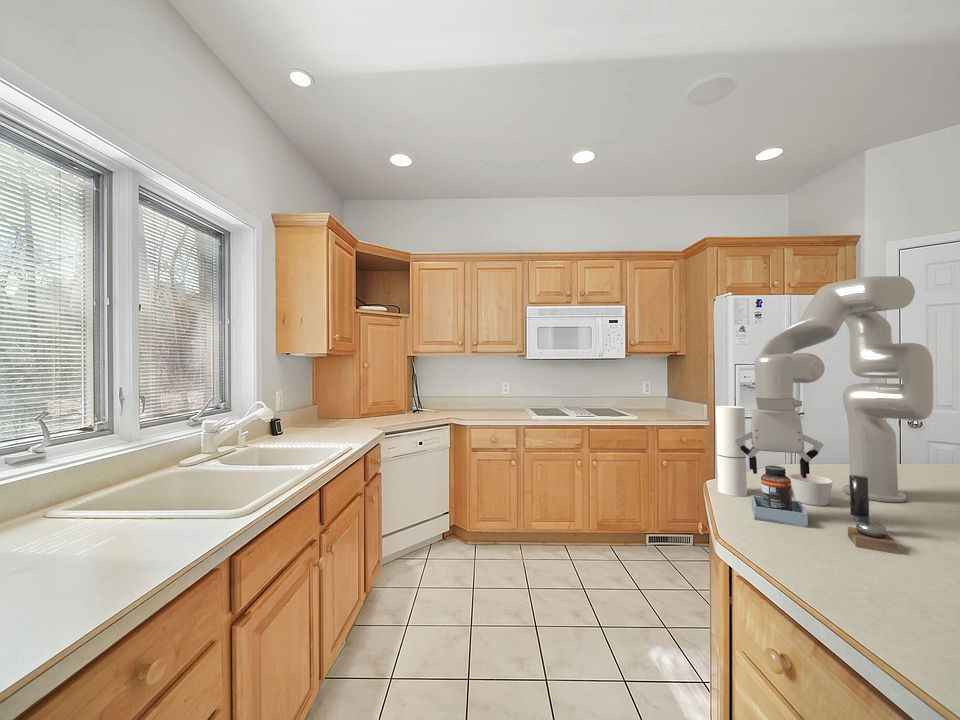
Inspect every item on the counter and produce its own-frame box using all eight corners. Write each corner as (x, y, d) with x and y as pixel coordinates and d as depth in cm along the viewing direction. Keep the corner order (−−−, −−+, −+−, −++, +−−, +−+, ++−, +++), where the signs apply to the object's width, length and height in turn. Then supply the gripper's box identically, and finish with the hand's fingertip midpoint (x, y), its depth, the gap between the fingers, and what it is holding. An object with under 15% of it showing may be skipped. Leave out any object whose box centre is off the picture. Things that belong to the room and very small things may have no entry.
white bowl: (787, 502, 106) (787, 478, 106) (792, 494, 113) (791, 472, 113) (832, 510, 100) (831, 485, 100) (834, 501, 106) (833, 478, 107)
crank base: (847, 535, 85) (847, 525, 85) (886, 541, 82) (886, 531, 82) (856, 546, 80) (855, 535, 80) (897, 553, 77) (897, 542, 77)
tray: (751, 506, 103) (751, 495, 103) (800, 513, 98) (799, 501, 98) (754, 519, 95) (754, 506, 95) (807, 527, 90) (807, 514, 90)
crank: (890, 538, 78) (888, 490, 78) (859, 534, 80) (858, 486, 80) (871, 519, 88) (869, 476, 88) (844, 516, 90) (843, 473, 90)
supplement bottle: (786, 510, 99) (785, 465, 99) (797, 519, 93) (795, 471, 93) (758, 508, 101) (757, 463, 101) (767, 516, 95) (765, 469, 95)
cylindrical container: (746, 491, 116) (744, 406, 117) (747, 497, 110) (744, 408, 111) (718, 487, 120) (716, 405, 121) (717, 493, 114) (715, 407, 115)
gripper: (817, 404, 96) (820, 474, 96) (732, 403, 105) (736, 467, 105) (824, 407, 90) (828, 483, 89) (733, 406, 99) (737, 474, 98)
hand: (778, 474), depth 97 cm, fingers open, 9 cm apart
